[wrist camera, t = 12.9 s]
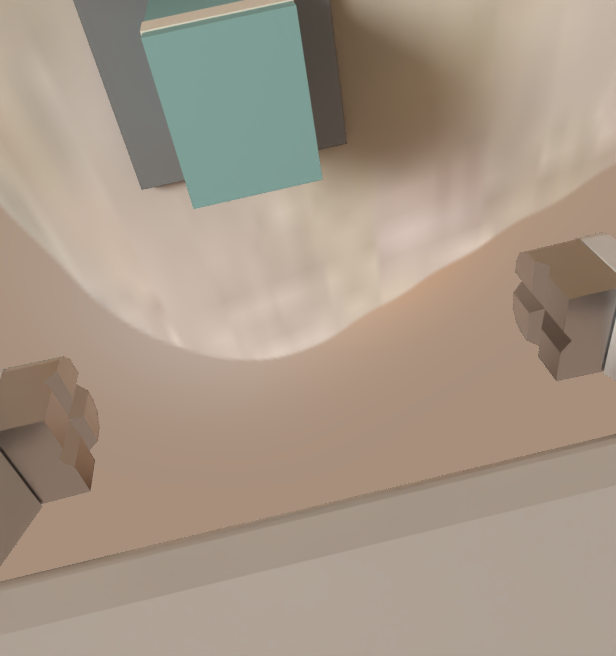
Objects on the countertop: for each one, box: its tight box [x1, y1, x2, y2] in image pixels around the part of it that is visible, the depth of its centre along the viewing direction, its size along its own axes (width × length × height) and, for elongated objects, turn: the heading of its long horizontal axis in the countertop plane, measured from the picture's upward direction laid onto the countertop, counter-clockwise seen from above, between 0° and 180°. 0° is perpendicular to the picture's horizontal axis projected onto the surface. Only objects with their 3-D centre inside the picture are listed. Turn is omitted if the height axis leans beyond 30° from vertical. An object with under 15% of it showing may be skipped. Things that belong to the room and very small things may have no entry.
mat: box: [73, 0, 347, 190], centre depth 28 cm, size 11×11×1 cm
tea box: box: [140, 0, 323, 209], centre depth 24 cm, size 5×6×9 cm
